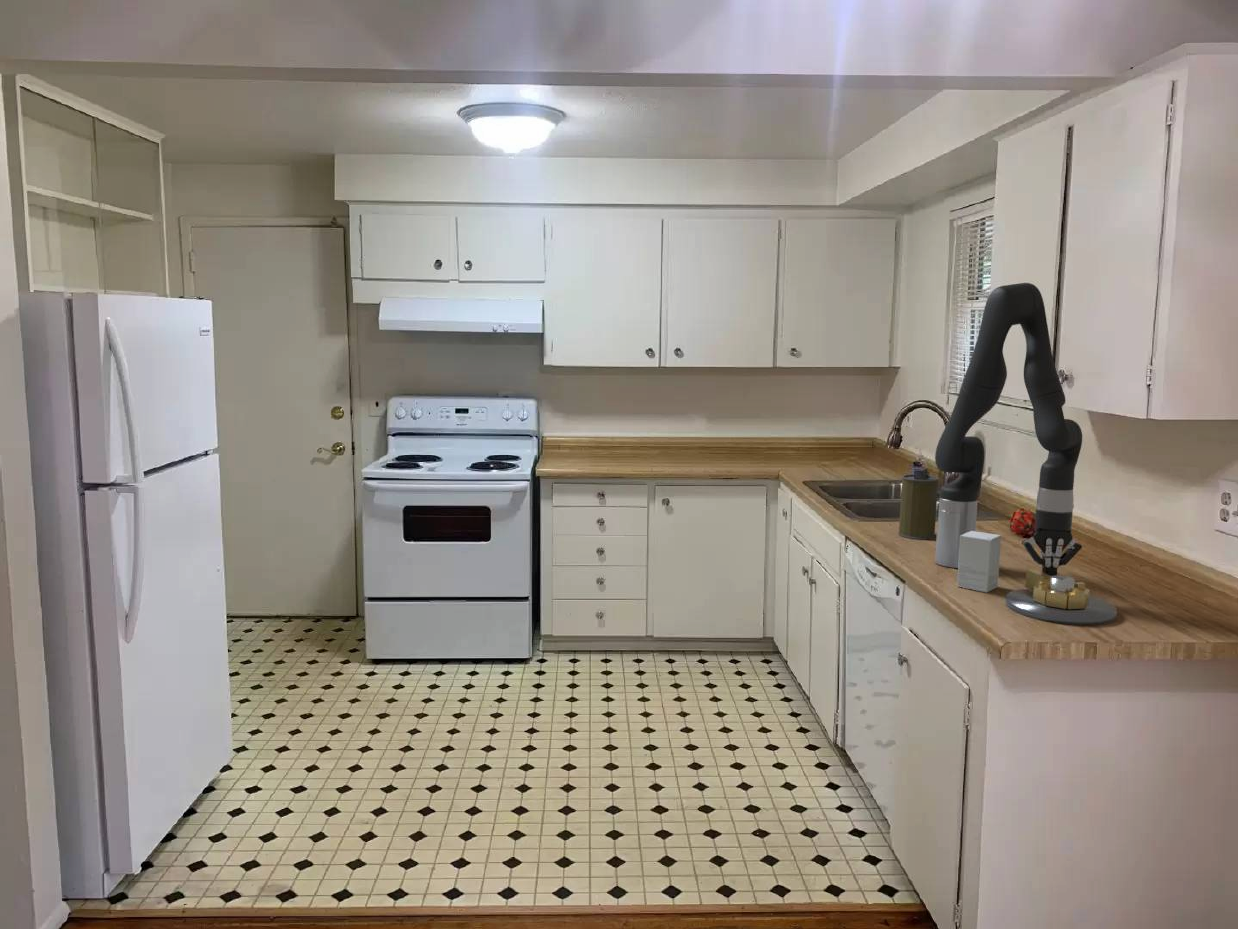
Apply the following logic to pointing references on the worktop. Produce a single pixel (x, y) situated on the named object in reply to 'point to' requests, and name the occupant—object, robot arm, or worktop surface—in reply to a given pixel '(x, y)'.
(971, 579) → the supplement box
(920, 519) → the canister
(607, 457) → the worktop surface
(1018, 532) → the dragon fruit
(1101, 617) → the flange
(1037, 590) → the tan curved piece
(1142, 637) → the worktop surface
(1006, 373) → the robot arm
